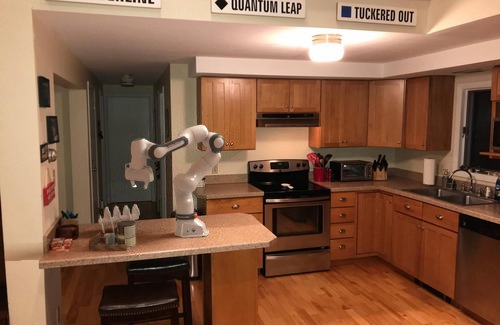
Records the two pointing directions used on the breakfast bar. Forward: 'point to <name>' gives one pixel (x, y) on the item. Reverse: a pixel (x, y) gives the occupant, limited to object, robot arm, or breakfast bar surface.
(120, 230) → the coffee can
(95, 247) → the brown tray
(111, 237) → the pusher
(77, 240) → the breakfast bar surface
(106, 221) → the white spiky piece
